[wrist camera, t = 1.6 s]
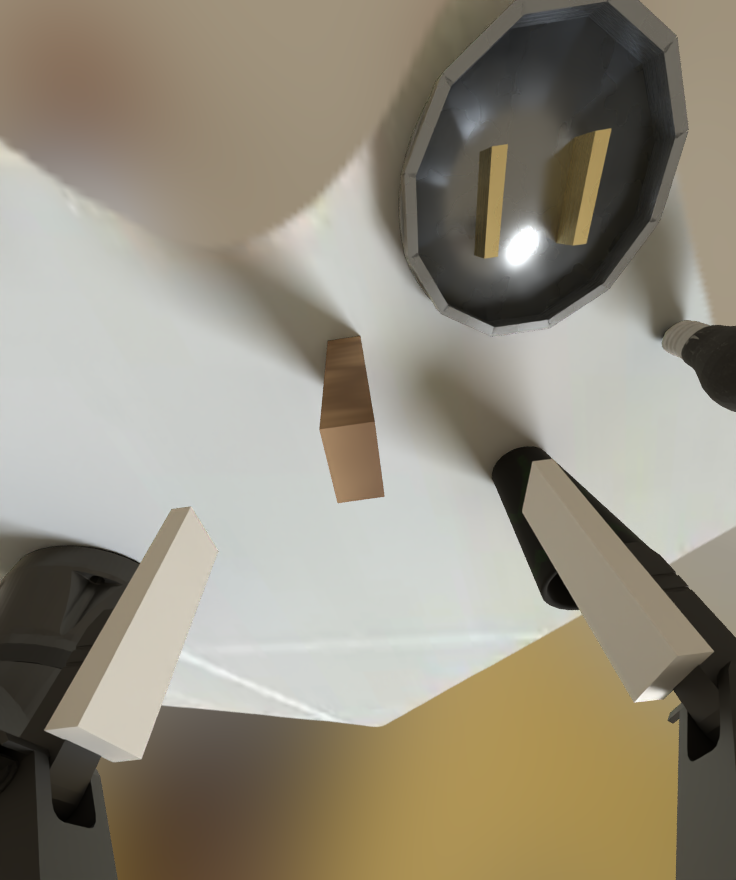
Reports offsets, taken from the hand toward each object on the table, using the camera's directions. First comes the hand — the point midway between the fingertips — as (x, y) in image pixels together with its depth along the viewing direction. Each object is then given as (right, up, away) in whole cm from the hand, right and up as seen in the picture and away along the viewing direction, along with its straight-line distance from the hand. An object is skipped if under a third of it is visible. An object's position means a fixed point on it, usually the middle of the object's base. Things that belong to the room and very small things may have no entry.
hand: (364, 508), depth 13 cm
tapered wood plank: (-1, +8, +12) cm, 15 cm away
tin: (+9, +17, +7) cm, 21 cm away
